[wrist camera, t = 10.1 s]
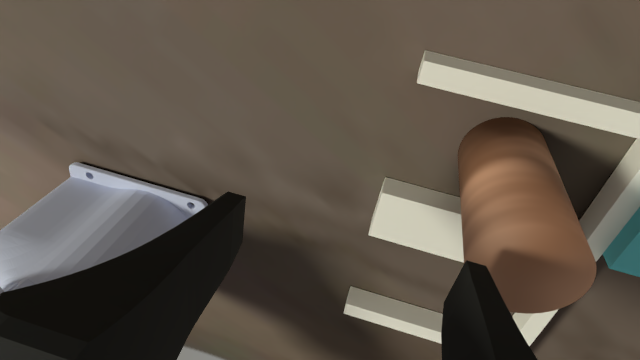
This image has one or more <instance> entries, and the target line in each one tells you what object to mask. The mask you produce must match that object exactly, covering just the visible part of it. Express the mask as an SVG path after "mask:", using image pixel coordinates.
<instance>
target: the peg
mask: <svg viewBox="0 0 640 360" xmlns="http://www.w3.org/2000/svg"><path fill="white" fill-rule="evenodd" d="M458 170H459V186H460V203H461V220H462V237H463V254H464V264H465V262H466V260H468V261H471V262H474V263H478V264H481V265H485V266H487V268H488V270H489V272H490V274H491V276H492V278H493V280H494V282H495V284H496V286H497V288H498V290H499V292H500V294H501V296H502V298H503V300H504V302H505V304H506V306H507V308H508V310H509V311H510V312H515V313H525V314H534V313H544V312H550V311H554V310H557V309H560V308H563V307H566V306H568V305H570V304H572V303H574V302H575V301H577V300H578V299H580V298H581V297H582V296H583V295H584V294H585V293H586V292H587V291H588V290H589V289H590V287H591V286H592V284H593V282H594V280H595V276H596V268H597V267H596V261H595V259H594V256H593V253H592V251H591V249H590V246H589V244H588V242H587V239H586V237H585V234H584V232H583V230H582V227H581V225H580V223H579V220H578V218H577V215H576V213H575V211H574V208H573V206H572V204H571V201H570V199H569V196H568V194H567V192H566V189H565V187H564V184H563V182H562V180H561V177H560V175H559V173H558V170H557V168H556V165H555V163H554V161H553V158H552V156H551V154H550V151H549V149H548V146H547V144H546V142H545V139H544V137H543V135H542V134H541V132H540V131H539V130H538V129H537V128H536V127H535V126H533V125H532V124H530V123H528V122H526V121H524V120H521V119H517V118H509V117H503V118H495V119H491V120H488V121H485V122H483V123H481V124H479V125H477V126H476V127H474V128H473V129H472V130H471V131H469V132H468V133H467V135H466V136H465V137H464V139H463V140H462V142H461V144H460V147H459V150H458Z"/></svg>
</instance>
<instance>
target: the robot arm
mask: <svg viewBox="0 0 640 360" xmlns="http://www.w3.org/2000/svg"><path fill="white" fill-rule="evenodd" d="M69 171H70V176H71V177H70V178H69V179H67V180H66V181H65V182H63V183H62V184H61V185H59V186H58V187H57V188H55V189H54V190H53V191H51V192H50V193H49V194H47V195H46V196H45V197H44V198H42V199H41V200H40V201H38V202H37V203H36V204H34V205H33V206H32V207H30V208H29V209H28V210H26V211H25V212H24V213H22V214H21V215H20V216H18V217H17V218H16V219H14V220H13V221H12V222H11V223H9V224H8V225H7V226H5V227H4V228H3V229H1V230H0V360H177V358H178V356H179V354H180V352H181V350H182V348H183V346H184V344H185V342H186V340H187V338H188V336H189V334H190V332H191V330H192V328H193V327H194V325H195V323H196V322H197V320H198V318H199V317H200V315H201V314H202V312H203V311H204V309H205V307H206V306H207V304H208V303H209V301H210V299H211V298H212V296H213V295H214V293H215V291H216V290H217V288H218V287H219V285H220V284H221V282H222V280H223V279H224V277H225V275H226V274H227V272H228V271H229V269H230V267H231V265H232V263H233V261H234V259H235V257H236V254H237V252H238V250H239V248H240V246H241V243H242V237H243V225H244V213H245V201H246V197H245V196H242V195H238V194H235V193H231V192H227V193H225V194H223V195H222V196H220V197H219V198H218V199H216V200H215V201H213V202H212V203H210V204H209V205H208V204H207V202H206V201H205V200H203V199H201V198H198V197H195V196H191V195H188V194H184V193H181V192H177V191H174V190H171V189H167V188H164V187H160V186H157V185H153V184H150V183H147V182H143V181H140V180H136V179H133V178H129V177H126V176H123V175H119V174H116V173H112V172H109V171H105V170H102V169H99V168H95V167H92V166H88V165H85V164H81V163H78V162H75V163H73V164H71V165H70V166H69ZM191 203H193V204H194V205H193V204H191ZM441 341H442V360H537V358H536V357H535V355H534V353H533V352H532V350H531V349H530V347H529V345H528V344H527V342H526V340H525V339H524V337H523V335H522V334H521V332H520V330H519V328H518V326H517V325H516V323H515V321H514V319H513V317H512V316H511V314H510V312H509V310H508V308H507V306H506V304H505V302H504V300H503V298H502V296H501V294H500V292H499V290H498V288H497V286H496V284H495V282H494V280H493V278H492V276H491V274H490V272H489V270H488V268H487V266H485V265H481V264H478V263H474V262H471V261H468V260H466V262H465V264H464V266H463V268H462V269H461V271H460V273H459V275H458V277H457V279H456V281H455V283H454V285H453V286H452V288H451V290H450V292H449V294H448V296H447V298H446V300H445V302H444V308H443V318H442V330H441Z"/></svg>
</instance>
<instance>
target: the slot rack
mask: <svg viewBox="0 0 640 360" xmlns="http://www.w3.org/2000/svg"><path fill="white" fill-rule="evenodd" d="M417 83H418V84H422V85H426V86H430V87H434V88H438V89H442V90H446V91H450V92H454V93H458V94H462V95H466V96H470V97H474V98H478V99H482V100H486V101H490V102H494V103H498V104H502V105H506V106H510V107H514V108H518V109H522V110H526V111H530V112H534V113H538V114H542V115H546V116H550V117H554V118H558V119H562V120H566V121H570V122H574V123H578V124H582V125H586V126H590V127H594V128H598V129H602V130H606V131H610V132H614V133H618V134H622V135H626V136H630V137H634V138H637V139H636V140H635V142H634V143H633V144H632V146H631V147H630V149H629V150H628V152H627V153H626V154H625V156H624V157H623V159H622V160H621V162H620V163H619V164H618V166H617V167H616V169H615V170H614V172H613V173H612V175H611V176H610V177H609V179H608V180H607V182H606V183H605V185H604V186H603V187H602V189H601V190H600V192H599V193H598V195H597V196H596V197H595V199H594V200H593V202H592V203H591V205H590V206H589V207H588V209H587V210H586V212H585V213H584V215H583V216H582V218H581V219H580V220H579V223H580V225H581V227H582V230H583V232H584V234H585V237H586V239H587V242H588V244H589V246H590V249H591V251H592V253H593V256H594V259H595V261H597V260H598V259H599V258H600V256H601V255H602V254H603V256H604V258H605V261H606V263H607V265H608V267H609V269H613V270H616V271H620V272H623V273H627V274H630V275H634V276H638V277H640V102H637V101H633V100H629V99H625V98H621V97H617V96H612V95H608V94H604V93H600V92H596V91H592V90H588V89H584V88H579V87H575V86H571V85H567V84H563V83H559V82H555V81H551V80H546V79H542V78H538V77H534V76H530V75H526V74H522V73H518V72H513V71H509V70H505V69H501V68H497V67H493V66H489V65H485V64H480V63H476V62H472V61H468V60H464V59H460V58H456V57H452V56H447V55H443V54H439V53H435V52H431V51H427V50H425V52H424V55H423V58H422V61H421V65H420V68H419V71H418V78H417ZM368 235H370V236H373V237H377V238H380V239H384V240H387V241H390V242H394V243H397V244H401V245H404V246H408V247H411V248H415V249H418V250H422V251H425V252H429V253H432V254H436V255H439V256H442V257H446V258H449V259H453V260H456V261H460V262H463V263H464V254H463V237H462V220H461V203H460V197H457V196H453V195H449V194H446V193H442V192H438V191H435V190H431V189H428V188H424V187H420V186H417V185H413V184H409V183H406V182H402V181H398V180H395V179H391V178H387V177H385V179H384V182H383V185H382V188H381V191H380V194H379V198H378V201H377V204H376V207H375V210H374V213H373V217H372V220H371V225H370V230H369V234H368ZM558 310H559V309H557V310H554V311H550V312H544V313H534V314H525V313H515V314H514V315H513V316H512V317H513V319H514V321H515V323H516V325H517V326H518V328H519V330H520V332H521V334H522V335H523V337H524V339H525V340H526V342H527V344H528V345H529V346H530V345H531V344H532V343H533V341H534V340H535V339H536V338H537V336H538V335H539V334H540V332H541V331H542V330H543V329H544V327H545V326H546V325H547V324H548V322H549V321H550V320H551V319H552V317H553V316H554V315H555V313H556V312H557V311H558ZM344 314H347V315H350V316H353V317H357V318H360V319H363V320H366V321H370V322H373V323H376V324H379V325H383V326H386V327H389V328H392V329H396V330H399V331H402V332H405V333H408V334H412V335H415V336H418V337H421V338H425V339H428V340H431V341H434V342H438V343H441V344H442V341H441V330H442V318H443V314H441V313H438V312H435V311H432V310H428V309H425V308H422V307H418V306H415V305H412V304H408V303H405V302H402V301H398V300H395V299H392V298H388V297H385V296H382V295H379V294H375V293H372V292H369V291H365V290H362V289H359V288H355V287H352V286H350V289H349V293H348V296H347V300H346V304H345V309H344Z"/></svg>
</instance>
